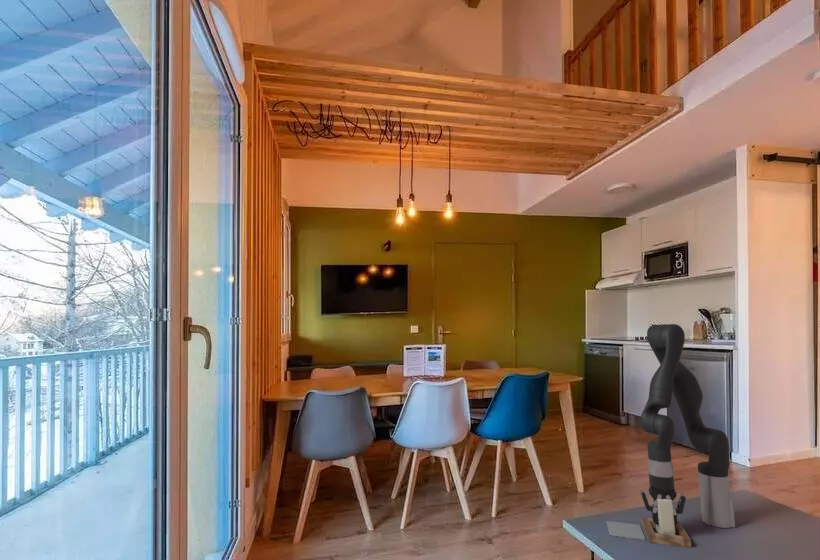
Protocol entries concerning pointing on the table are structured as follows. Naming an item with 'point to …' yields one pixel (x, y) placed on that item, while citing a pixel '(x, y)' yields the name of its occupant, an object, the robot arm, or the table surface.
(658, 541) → the frame
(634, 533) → the slate mat
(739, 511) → the table surface
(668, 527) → the skincare box
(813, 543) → the table surface
